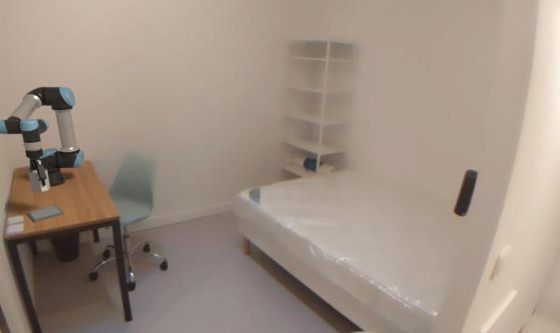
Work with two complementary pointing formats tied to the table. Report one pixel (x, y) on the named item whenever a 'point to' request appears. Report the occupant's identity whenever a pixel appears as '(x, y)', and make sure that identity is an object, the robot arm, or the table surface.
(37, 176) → the mug
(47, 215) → the coaster
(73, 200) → the table surface
